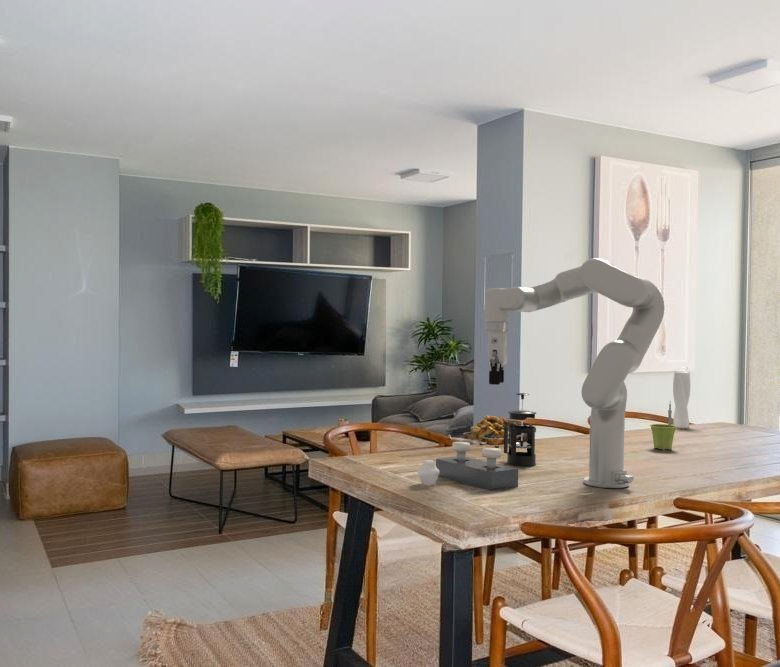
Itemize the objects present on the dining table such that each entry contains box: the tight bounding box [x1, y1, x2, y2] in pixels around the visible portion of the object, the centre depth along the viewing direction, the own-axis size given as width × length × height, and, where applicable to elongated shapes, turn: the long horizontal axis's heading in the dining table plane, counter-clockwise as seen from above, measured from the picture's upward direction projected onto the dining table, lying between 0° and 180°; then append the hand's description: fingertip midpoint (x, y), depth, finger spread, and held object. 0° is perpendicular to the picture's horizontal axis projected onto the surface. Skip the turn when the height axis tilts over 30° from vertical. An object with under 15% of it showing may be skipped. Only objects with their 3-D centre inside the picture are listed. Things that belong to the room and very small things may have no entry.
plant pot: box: [649, 423, 677, 450], centre depth 286 cm, size 9×9×9 cm
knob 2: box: [481, 447, 502, 469], centre depth 215 cm, size 5×5×6 cm
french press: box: [503, 392, 537, 468], centre depth 249 cm, size 12×9×23 cm
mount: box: [435, 456, 519, 492], centre depth 220 cm, size 24×10×5 cm, turn 35°
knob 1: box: [451, 441, 471, 462], centre depth 226 cm, size 5×5×6 cm
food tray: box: [447, 414, 535, 449], centre depth 300 cm, size 35×26×11 cm
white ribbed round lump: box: [417, 459, 440, 487], centre depth 214 cm, size 6×6×7 cm
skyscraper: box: [667, 366, 691, 429], centre depth 346 cm, size 8×8×28 cm
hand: (496, 383), depth 239 cm, fingers open, 9 cm apart
